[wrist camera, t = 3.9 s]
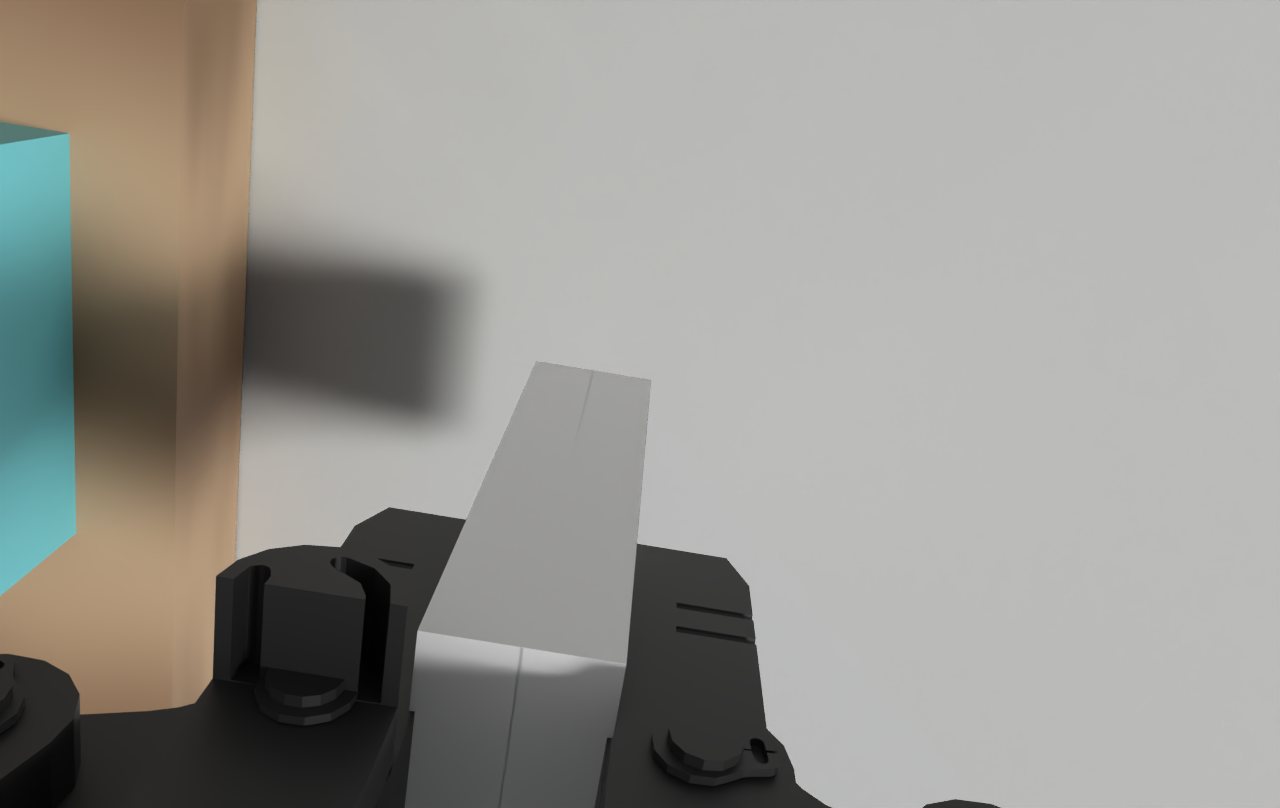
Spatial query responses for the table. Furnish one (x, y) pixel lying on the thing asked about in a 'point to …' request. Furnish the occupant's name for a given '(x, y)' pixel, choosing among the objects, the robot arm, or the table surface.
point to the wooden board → (142, 332)
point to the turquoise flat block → (35, 350)
